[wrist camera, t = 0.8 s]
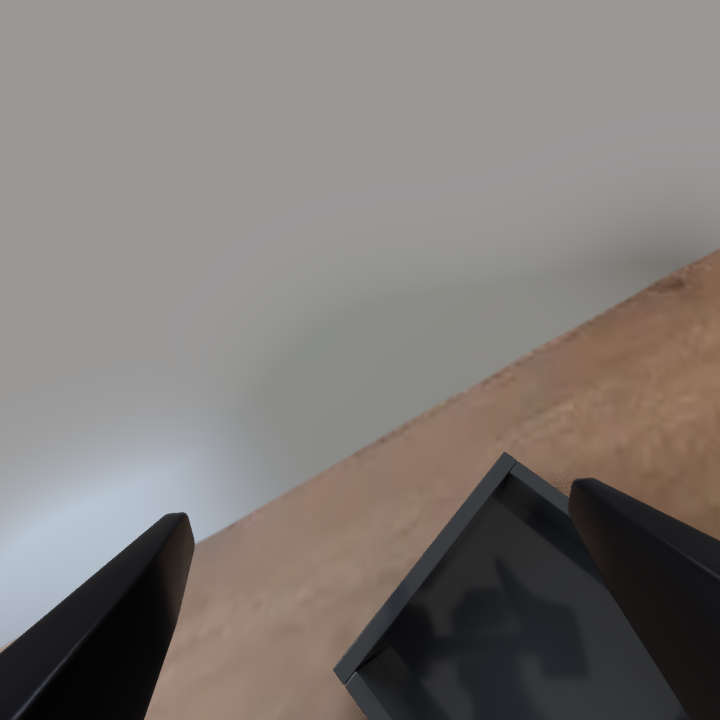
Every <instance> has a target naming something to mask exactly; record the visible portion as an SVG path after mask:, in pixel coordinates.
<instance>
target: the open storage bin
mask: <svg viewBox="0 0 720 720" xmlns="http://www.w3.org/2000/svg"><path fill="white" fill-rule="evenodd" d="M568 502H569V497H567V496H566V495H564V494H563V493H562V492H560V491H559V490H557V489H556V488H555V487H553V486H552V485H550V484H549V483H548V482H546V481H545V480H543V479H542V478H541V477H539V476H538V475H537V474H535V473H534V472H532V471H531V470H530V469H528V468H527V467H525V466H524V465H523V464H521V463H520V462H517V460H516V459H514V458H513V457H512V456H510V455H509V454H507V453H506V452H504V453H503V454H502V455H501V456H500V458H499V459H498V460H497V461H496V463H495V464H494V465H493V466H492V468H491V469H490V470H489V472H488V473H487V474H486V475H485V477H484V478H483V479H482V480H481V482H480V483H479V484H478V486H477V487H476V488H475V489H474V491H473V492H472V493H471V494H470V496H469V497H468V498H467V499H466V501H465V502H464V503H463V505H462V506H461V507H460V508H459V510H458V511H457V512H456V513H455V515H454V516H453V517H452V518H451V520H450V521H449V522H448V524H447V525H446V526H445V527H444V529H443V530H442V531H441V532H440V534H439V535H438V536H437V538H436V539H435V540H434V541H433V543H432V544H431V545H430V546H429V548H428V549H427V550H426V551H425V553H424V554H423V555H422V557H421V558H420V559H419V560H418V562H417V563H416V564H415V565H414V567H413V568H412V569H411V570H410V572H409V573H408V574H407V576H406V577H405V578H404V579H403V581H402V582H401V583H400V584H399V586H398V587H397V588H396V590H395V591H394V592H393V593H392V595H391V596H390V597H389V598H388V600H387V601H386V602H385V603H384V605H383V606H382V607H381V609H380V610H379V611H378V612H377V614H376V615H375V616H374V617H373V619H372V620H371V621H370V622H369V624H368V625H367V626H366V628H365V629H364V630H363V631H362V633H361V634H360V635H359V636H358V638H357V639H356V640H355V641H354V643H353V644H352V645H351V647H350V648H349V649H348V650H347V652H346V653H345V654H344V655H343V657H342V658H341V659H340V661H339V662H338V663H337V664H336V666H335V667H334V668H333V671H334V672H335V674H336V675H337V677H338V678H339V679H340V681H341V682H342V684H343V685H345V687H346V689H347V690H348V692H349V693H350V695H351V696H352V697H353V699H354V700H355V702H356V703H357V704H358V706H359V707H360V709H361V710H362V711H363V713H364V714H365V716H366V717H367V718H368V720H691V719H690V718H689V716H688V715H687V713H686V712H685V710H684V708H683V707H682V705H681V704H680V702H679V701H678V699H677V697H676V696H675V694H674V693H673V691H672V689H671V688H670V686H669V685H668V683H667V682H666V680H665V678H664V677H663V675H662V674H661V672H660V670H659V669H658V667H657V666H656V664H655V663H654V661H653V659H652V658H651V656H650V655H649V653H648V652H647V650H646V648H645V647H644V645H643V644H642V642H641V640H640V639H639V637H638V636H637V634H636V633H635V631H634V629H633V628H632V626H631V625H630V623H629V622H628V620H627V618H626V617H625V615H624V614H623V612H622V610H621V609H620V607H619V606H618V604H617V603H616V601H615V599H614V598H613V596H612V595H611V593H610V591H609V590H608V588H607V587H606V585H605V583H604V582H603V580H602V578H601V576H600V574H599V573H598V571H597V569H596V567H595V565H594V563H593V561H592V559H591V557H590V555H589V553H588V551H587V549H586V548H585V546H584V544H583V542H582V540H581V538H580V536H579V534H578V532H577V530H576V528H575V526H574V524H573V522H572V520H571V518H570V516H569V513H568Z"/></svg>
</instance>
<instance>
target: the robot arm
mask: <svg viewBox="0 0 720 720" xmlns="http://www.w3.org/2000/svg"><path fill="white" fill-rule="evenodd" d="M568 513H569V516H570V518H571V520H572V522H573V524H574V526H575V528H576V530H577V532H578V534H579V536H580V538H581V540H582V542H583V544H584V546H585V548H586V549H587V551H588V553H589V555H590V557H591V559H592V561H593V563H594V565H595V567H596V569H597V571H598V573H599V574H600V576H601V578H602V580H603V582H604V583H605V585H606V587H607V588H608V590H609V591H610V593H611V595H612V596H613V598H614V599H615V601H616V603H617V604H618V606H619V607H620V609H621V610H622V612H623V614H624V615H625V617H626V618H627V620H628V622H629V623H630V625H631V626H632V628H633V629H634V631H635V633H636V634H637V636H638V637H639V639H640V640H641V642H642V644H643V645H644V647H645V648H646V650H647V652H648V653H649V655H650V656H651V658H652V659H653V661H654V663H655V664H656V666H657V667H658V669H659V670H660V672H661V674H662V675H663V677H664V678H665V680H666V682H667V683H668V685H669V686H670V688H671V689H672V691H673V693H674V694H675V696H676V697H677V699H678V701H679V702H680V704H681V705H682V707H683V708H684V710H685V712H686V713H687V715H688V716H689V718H690V719H691V720H720V541H719V540H717V539H715V538H713V537H711V536H709V535H707V534H705V533H703V532H701V531H699V530H697V529H695V528H693V527H691V526H689V525H687V524H685V523H683V522H681V521H679V520H677V519H675V518H673V517H671V516H669V515H667V514H665V513H663V512H661V511H659V510H657V509H655V508H653V507H651V506H649V505H647V504H645V503H643V502H640V501H638V500H636V499H634V498H632V497H630V496H628V495H626V494H624V493H622V492H620V491H618V490H616V489H614V488H612V487H610V486H608V485H606V484H604V483H602V482H600V481H598V480H596V479H594V478H581V479H576V480H574V481H573V483H572V487H571V492H570V497H569V502H568ZM194 544H195V543H194V537H193V533H192V529H191V525H190V522H189V518H188V516H187V514H186V513H183V512H181V513H170V514H166V515H165V516H163V517H162V518H161V519H160V520H159V521H157V522H156V523H155V524H154V525H153V526H151V527H150V528H149V529H148V530H147V531H145V532H144V533H143V534H142V535H141V536H139V537H138V538H137V539H136V540H135V541H133V542H132V543H131V544H130V545H129V546H127V547H126V548H125V549H124V550H123V551H121V552H120V553H119V554H118V555H117V556H116V557H114V558H113V559H112V560H111V561H110V562H108V563H107V564H106V565H105V566H104V567H102V568H101V569H100V570H99V571H98V572H96V573H95V574H94V575H93V576H92V577H90V578H89V579H88V580H87V581H86V582H85V583H84V584H82V585H81V586H80V587H79V588H77V589H76V590H75V591H74V592H73V593H71V594H70V595H69V596H68V597H67V598H65V599H64V600H63V601H62V602H61V603H59V604H58V605H57V606H56V607H55V608H54V609H53V610H51V611H50V612H49V613H48V614H46V615H45V616H44V617H43V618H42V619H40V620H39V621H38V622H37V623H36V624H35V625H33V626H32V627H31V628H30V629H29V630H27V631H26V632H25V633H24V634H23V635H21V636H20V637H19V638H18V639H17V640H15V641H14V642H13V643H12V644H11V645H9V646H8V647H7V648H6V649H5V650H3V651H2V652H1V653H0V720H144V718H145V715H146V712H147V709H148V706H149V703H150V701H151V698H152V695H153V692H154V689H155V686H156V683H157V680H158V677H159V674H160V671H161V668H162V665H163V662H164V660H165V657H166V654H167V651H168V648H169V645H170V642H171V639H172V636H173V633H174V630H175V627H176V624H177V620H178V616H179V612H180V608H181V604H182V599H183V595H184V591H185V587H186V582H187V578H188V574H189V570H190V565H191V561H192V557H193V553H194Z"/></svg>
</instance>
